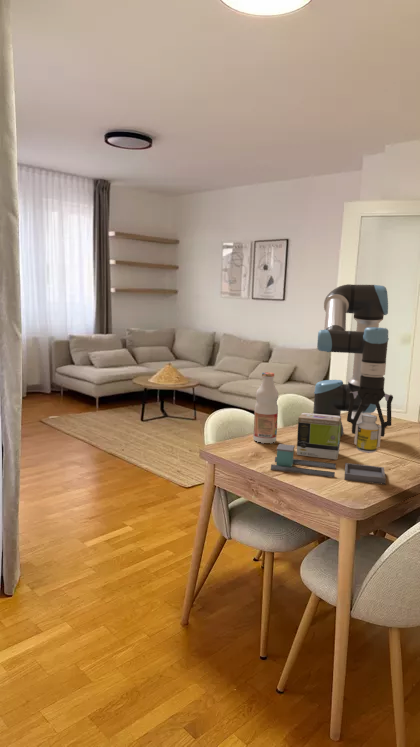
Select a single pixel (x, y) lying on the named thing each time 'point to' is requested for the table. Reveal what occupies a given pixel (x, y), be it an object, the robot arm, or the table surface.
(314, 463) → the guide rail
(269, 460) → the table surface
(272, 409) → the fruit juice
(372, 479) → the tray
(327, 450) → the tea box
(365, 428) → the pill bottle
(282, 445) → the teal and grey cube
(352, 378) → the robot arm
